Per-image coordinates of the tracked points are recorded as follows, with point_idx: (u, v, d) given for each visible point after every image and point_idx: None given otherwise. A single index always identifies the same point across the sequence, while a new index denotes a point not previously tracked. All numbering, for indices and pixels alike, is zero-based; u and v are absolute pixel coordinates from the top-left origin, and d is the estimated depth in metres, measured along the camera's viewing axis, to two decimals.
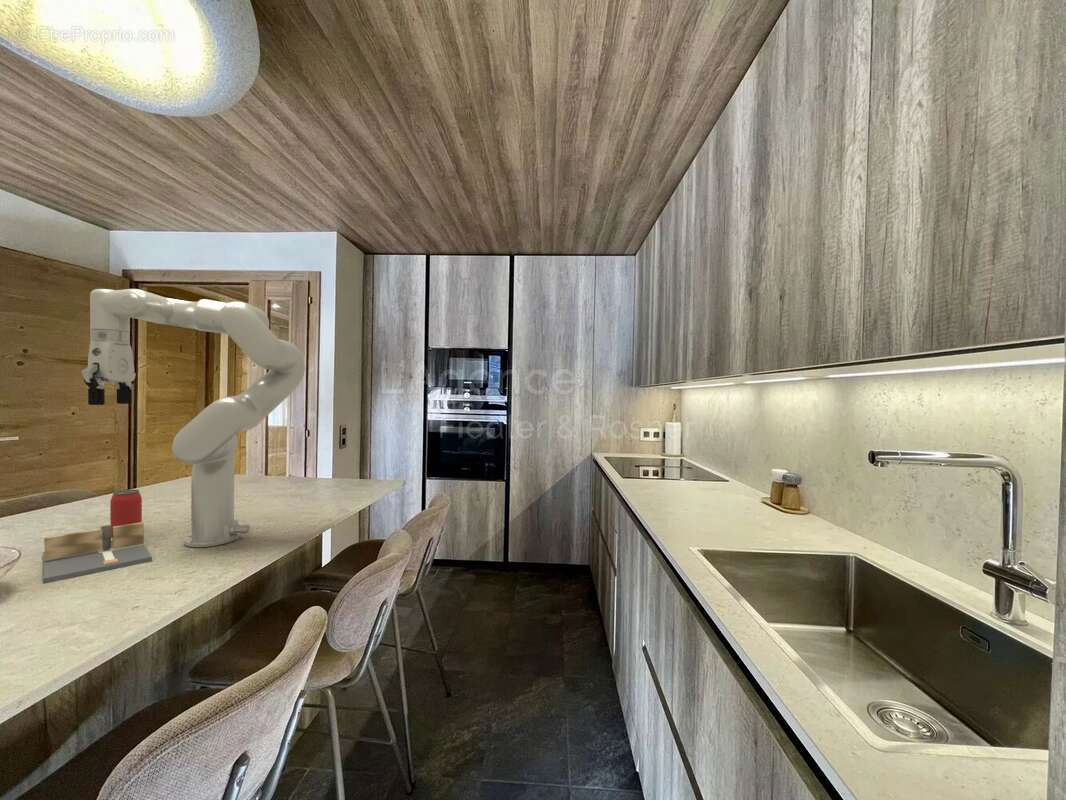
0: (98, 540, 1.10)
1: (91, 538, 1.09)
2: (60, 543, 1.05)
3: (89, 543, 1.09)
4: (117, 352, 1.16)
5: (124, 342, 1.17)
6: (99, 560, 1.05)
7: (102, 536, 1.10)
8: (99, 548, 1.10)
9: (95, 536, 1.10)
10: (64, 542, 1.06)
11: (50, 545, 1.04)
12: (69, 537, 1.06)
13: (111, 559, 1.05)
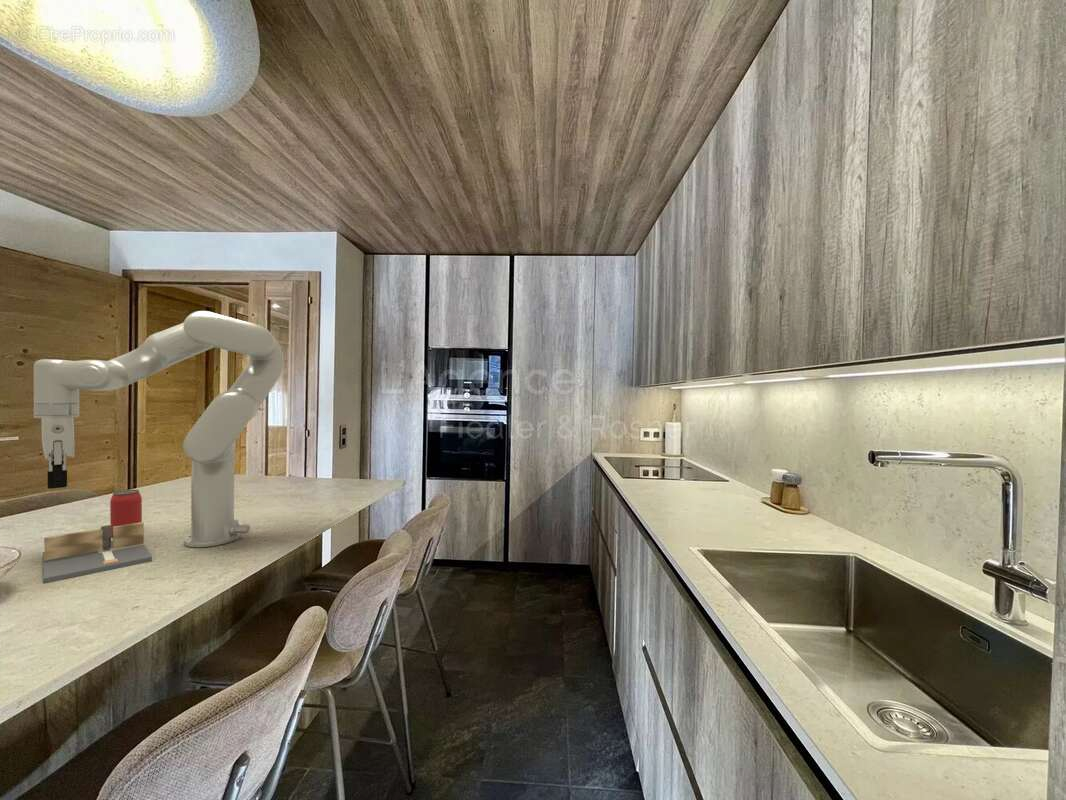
0: (98, 540, 1.10)
1: (91, 538, 1.09)
2: (60, 543, 1.05)
3: (89, 543, 1.09)
4: (73, 426, 1.09)
5: (78, 415, 1.11)
6: (99, 560, 1.05)
7: (102, 536, 1.10)
8: (99, 548, 1.10)
9: (95, 536, 1.10)
10: (64, 542, 1.06)
11: (50, 545, 1.04)
12: (69, 537, 1.06)
13: (111, 559, 1.05)
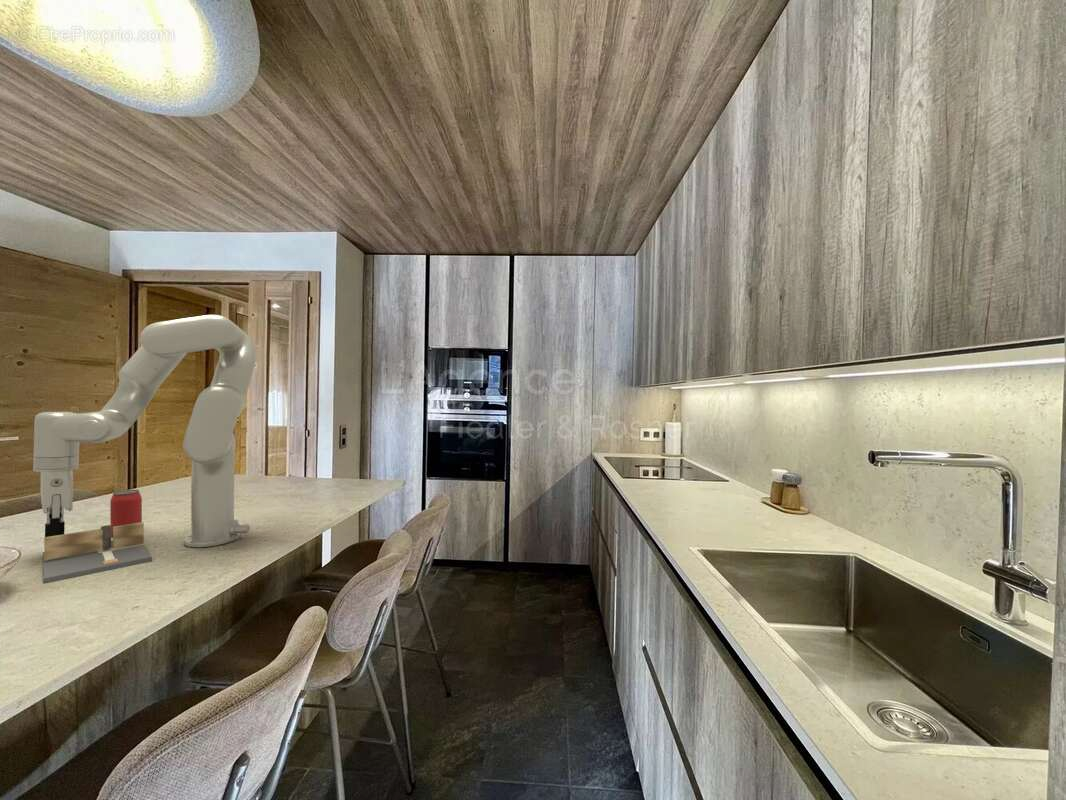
0: (98, 540, 1.10)
1: (91, 538, 1.09)
2: (60, 543, 1.05)
3: (89, 543, 1.09)
4: (72, 478, 1.09)
5: (78, 466, 1.11)
6: (99, 560, 1.05)
7: (102, 536, 1.10)
8: (99, 548, 1.10)
9: (95, 536, 1.10)
10: (64, 542, 1.06)
11: (50, 545, 1.04)
12: (69, 537, 1.06)
13: (111, 559, 1.05)
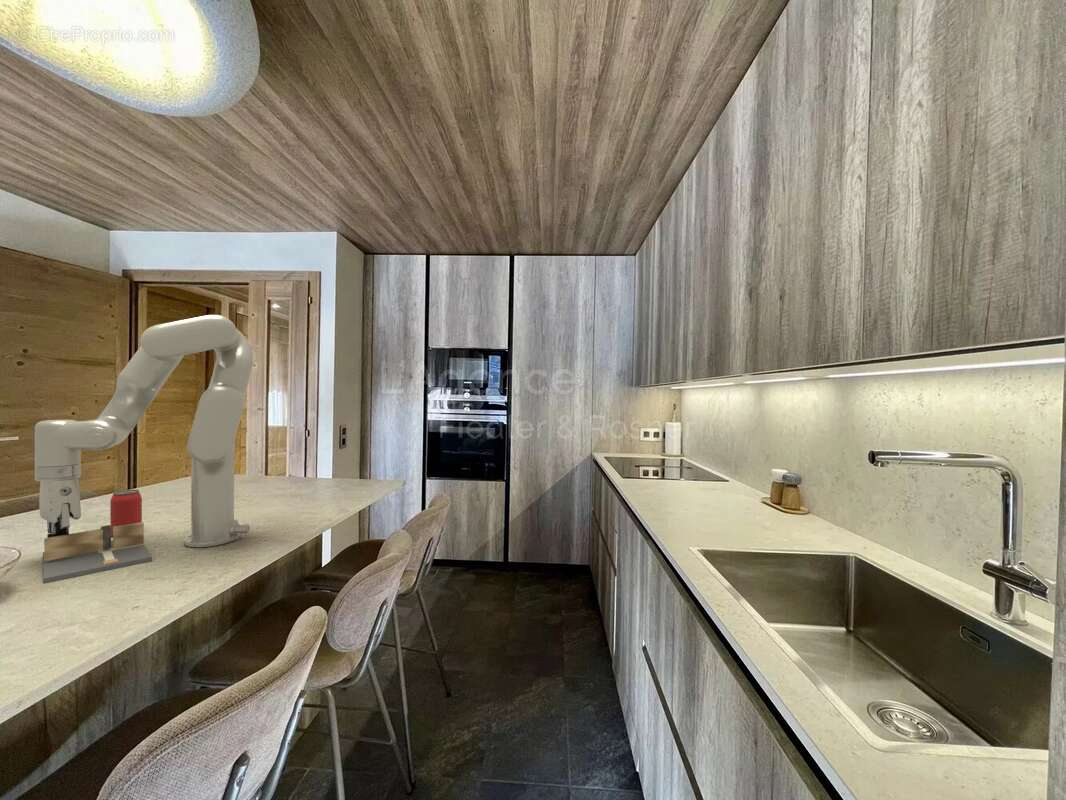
0: (98, 540, 1.10)
1: (91, 538, 1.09)
2: (61, 544, 1.05)
3: (89, 543, 1.09)
4: None
5: (80, 474, 1.10)
6: (99, 560, 1.05)
7: (102, 536, 1.10)
8: (99, 548, 1.10)
9: (95, 536, 1.09)
10: (65, 543, 1.05)
11: (51, 546, 1.04)
12: (70, 537, 1.06)
13: (111, 559, 1.05)
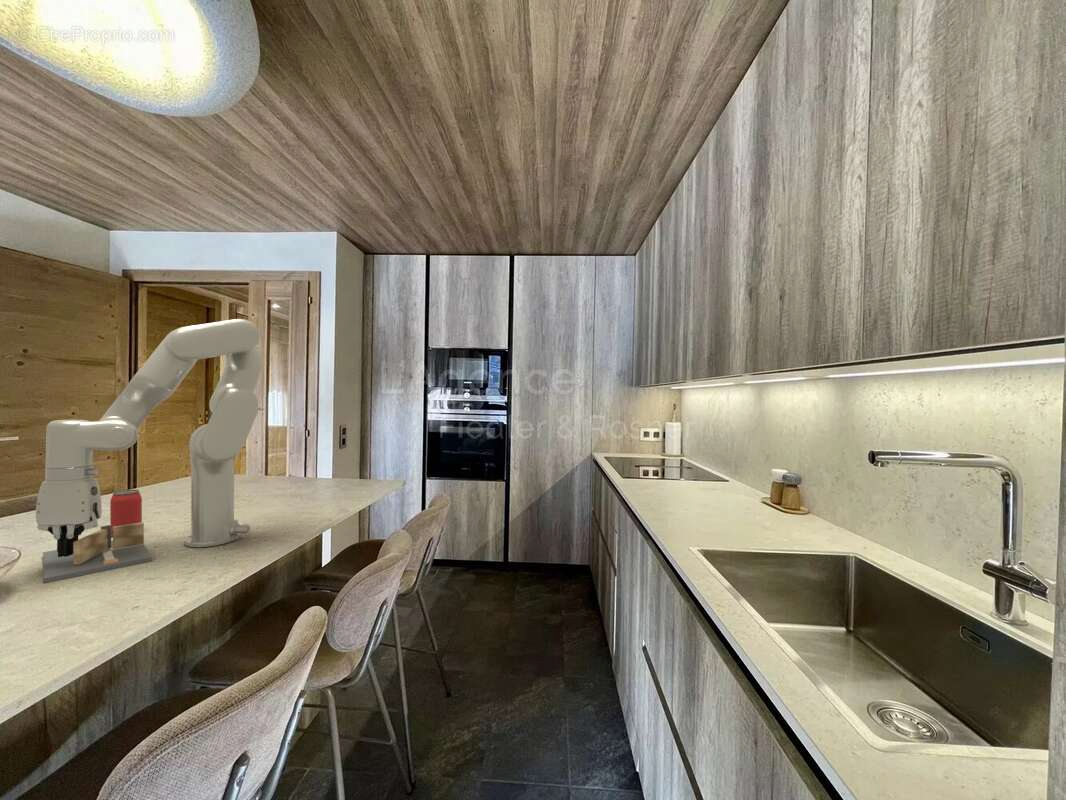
0: (105, 540, 1.10)
1: (102, 538, 1.09)
2: (87, 545, 1.04)
3: (101, 543, 1.09)
4: None
5: None
6: (99, 560, 1.05)
7: (107, 535, 1.11)
8: (105, 547, 1.10)
9: (104, 536, 1.10)
10: (89, 544, 1.05)
11: (82, 548, 1.02)
12: (91, 538, 1.05)
13: (111, 559, 1.05)
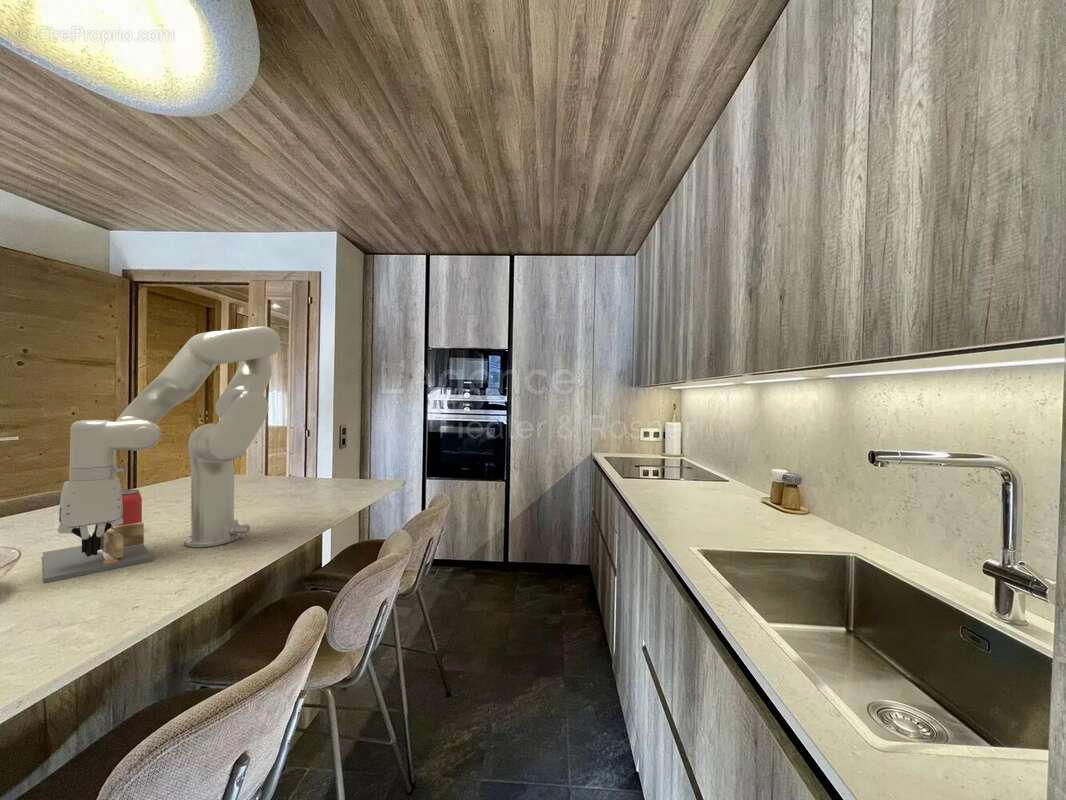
0: None
1: None
2: None
3: None
4: None
5: None
6: (99, 560, 1.05)
7: None
8: None
9: None
10: None
11: None
12: None
13: (111, 559, 1.05)
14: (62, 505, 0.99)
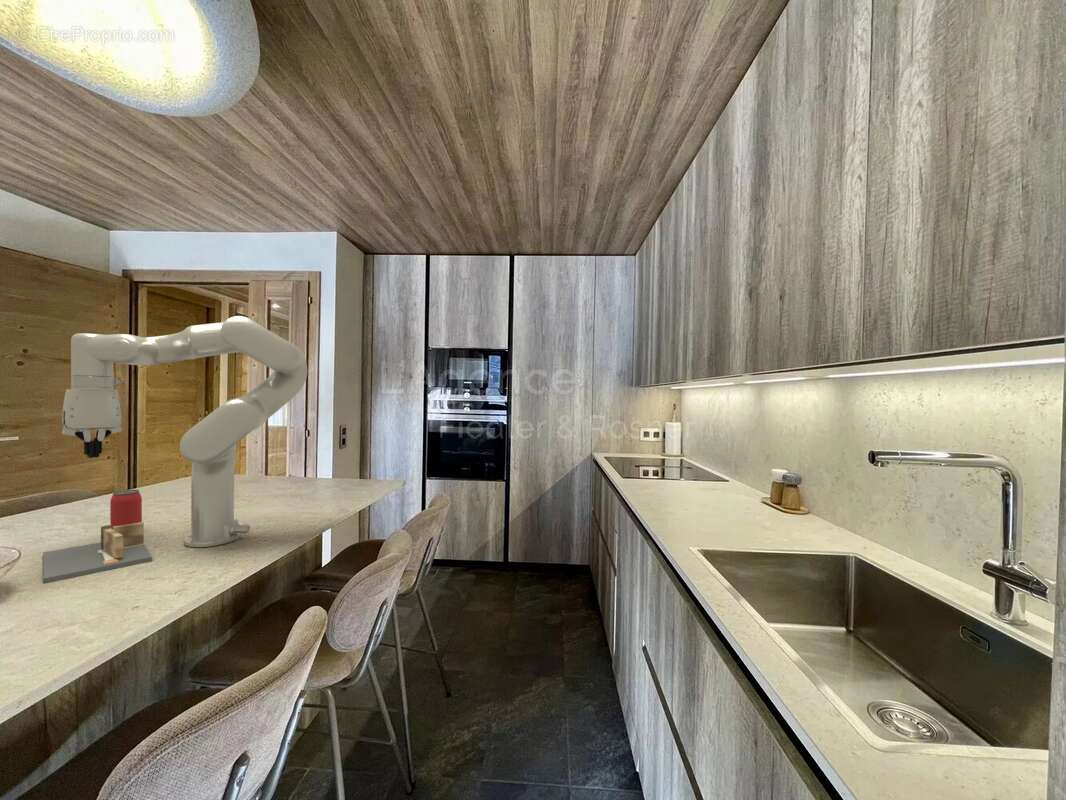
0: None
1: None
2: None
3: None
4: None
5: None
6: (99, 560, 1.05)
7: None
8: None
9: None
10: None
11: None
12: None
13: (111, 559, 1.05)
14: (66, 408, 1.08)
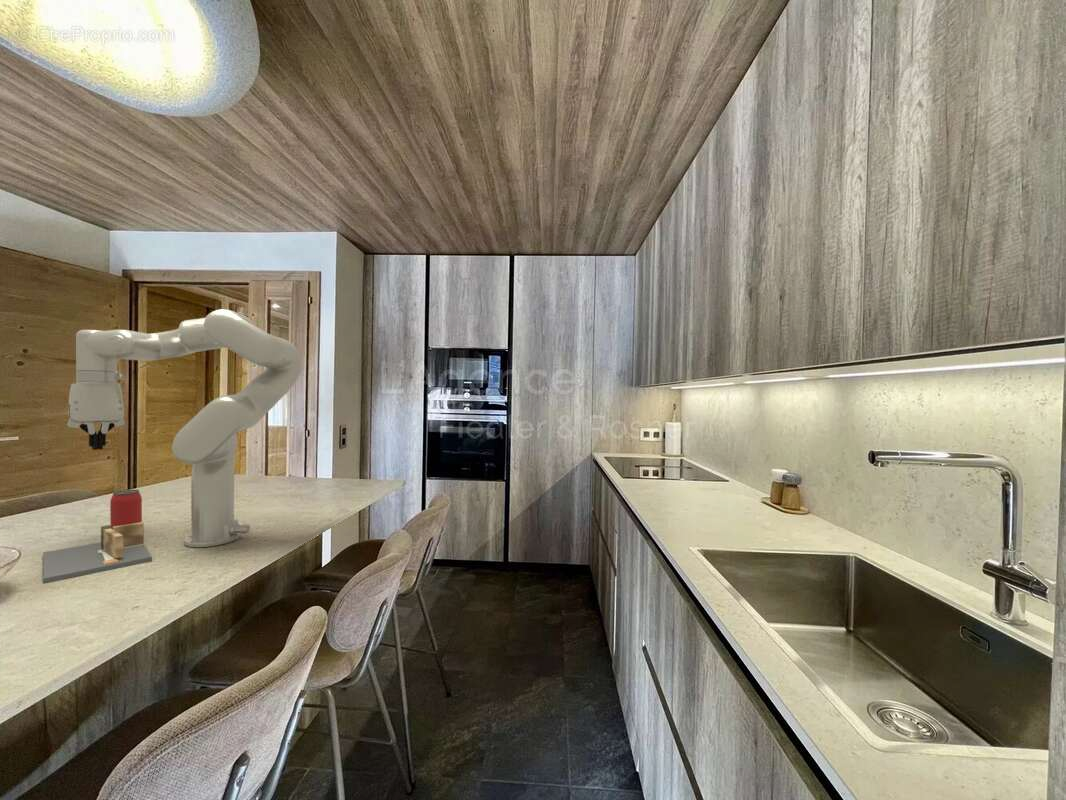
0: None
1: None
2: None
3: None
4: None
5: None
6: (99, 560, 1.05)
7: None
8: None
9: None
10: None
11: None
12: None
13: (111, 559, 1.05)
14: (71, 402, 1.13)
